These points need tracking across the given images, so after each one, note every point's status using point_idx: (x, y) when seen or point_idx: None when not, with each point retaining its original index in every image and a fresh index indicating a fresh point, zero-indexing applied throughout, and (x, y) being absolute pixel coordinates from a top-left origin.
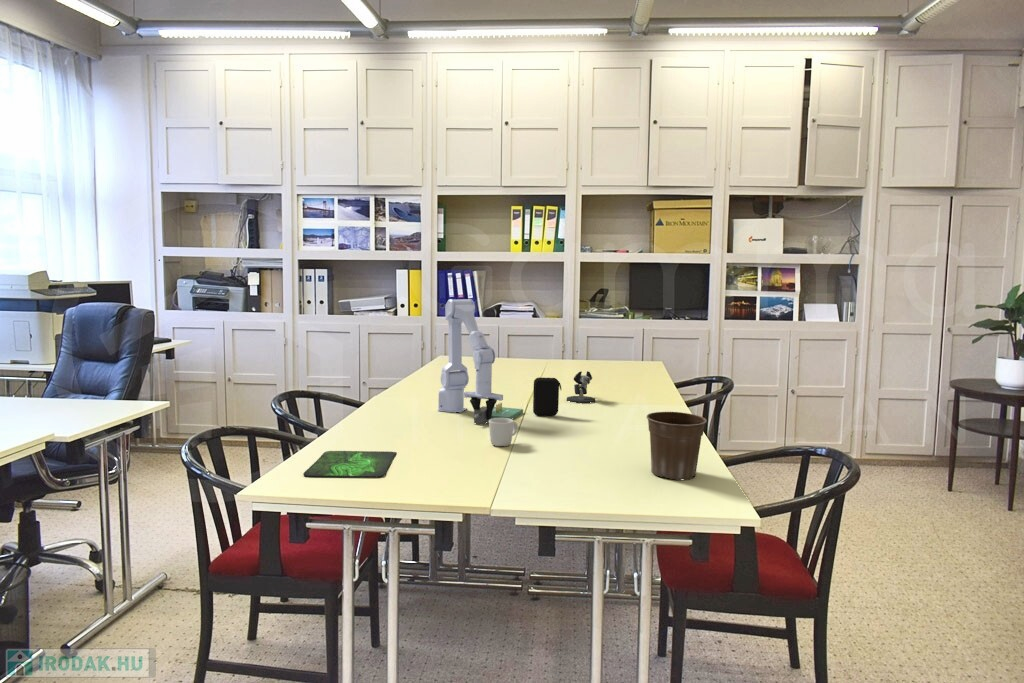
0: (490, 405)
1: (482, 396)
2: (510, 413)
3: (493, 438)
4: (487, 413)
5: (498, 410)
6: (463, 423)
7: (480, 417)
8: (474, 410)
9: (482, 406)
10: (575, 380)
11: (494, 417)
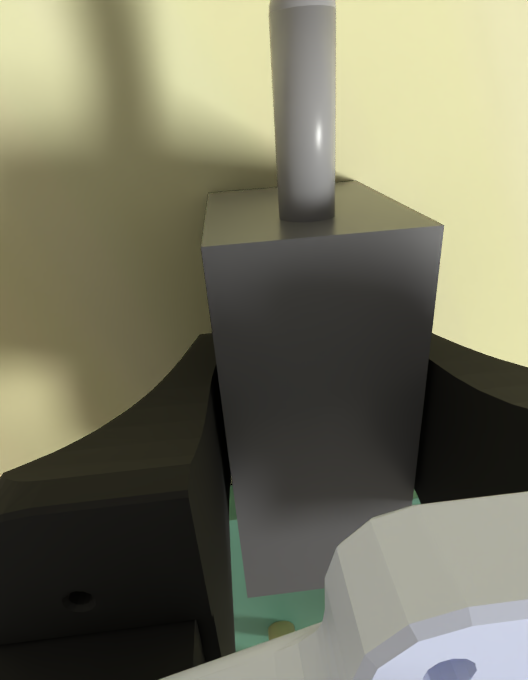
0: (75, 447)
1: (335, 610)
2: None
3: None
4: (201, 363)
5: None
6: (509, 148)
7: (268, 211)
8: (436, 226)
9: None
10: None
11: (230, 504)
